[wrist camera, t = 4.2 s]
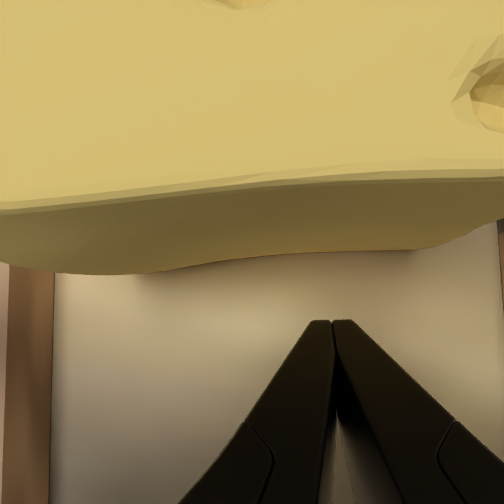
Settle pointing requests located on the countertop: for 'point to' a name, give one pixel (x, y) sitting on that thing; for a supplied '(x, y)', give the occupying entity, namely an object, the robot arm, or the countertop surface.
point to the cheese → (244, 129)
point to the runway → (37, 380)
